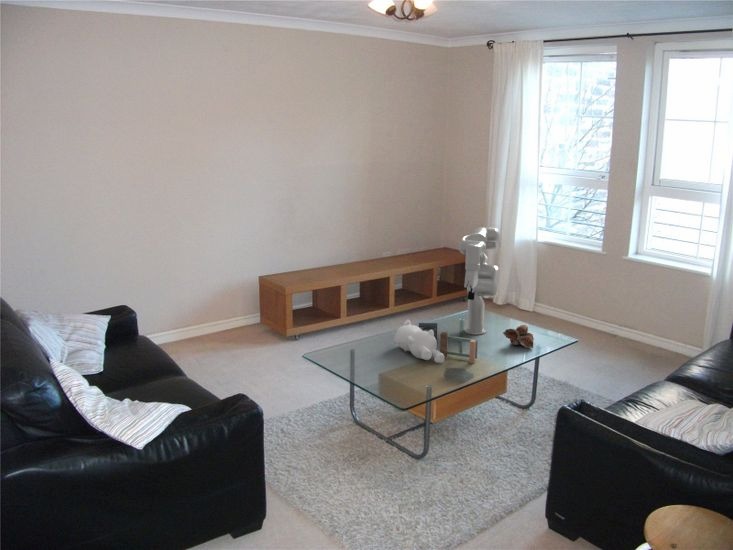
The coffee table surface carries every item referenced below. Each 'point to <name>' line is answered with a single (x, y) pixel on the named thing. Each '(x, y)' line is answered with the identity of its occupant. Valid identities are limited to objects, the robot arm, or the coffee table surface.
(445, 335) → the gate post
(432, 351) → the teddy bear
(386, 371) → the coffee table surface
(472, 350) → the post
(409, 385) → the coffee table surface
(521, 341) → the seed pod
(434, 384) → the coffee table surface
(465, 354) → the gate
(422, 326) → the small box
